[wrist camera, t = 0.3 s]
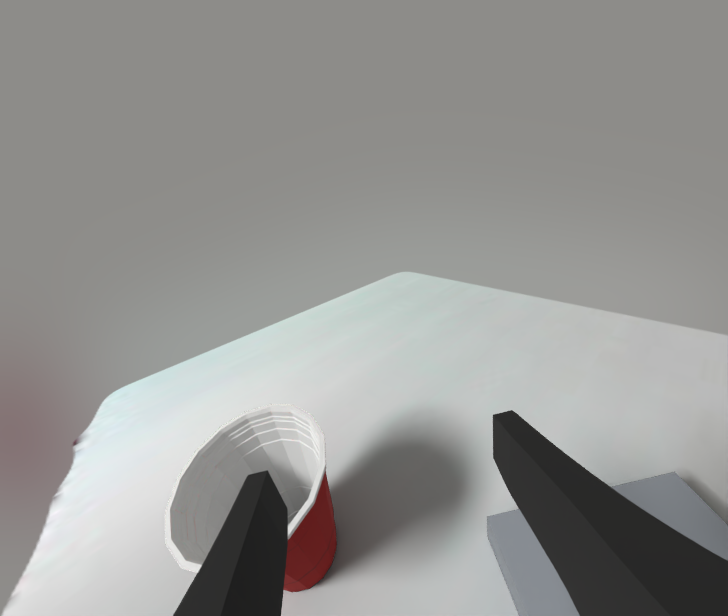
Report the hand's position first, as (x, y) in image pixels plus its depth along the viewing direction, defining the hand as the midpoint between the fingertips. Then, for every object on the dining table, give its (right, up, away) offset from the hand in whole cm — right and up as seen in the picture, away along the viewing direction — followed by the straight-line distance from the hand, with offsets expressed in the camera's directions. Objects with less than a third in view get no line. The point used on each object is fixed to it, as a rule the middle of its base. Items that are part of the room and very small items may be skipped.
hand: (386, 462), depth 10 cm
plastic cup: (-6, -16, +17) cm, 24 cm away
